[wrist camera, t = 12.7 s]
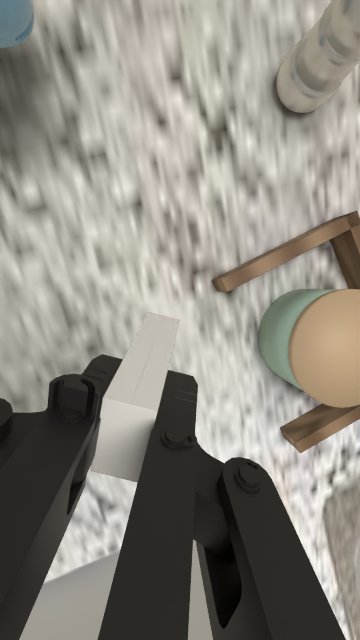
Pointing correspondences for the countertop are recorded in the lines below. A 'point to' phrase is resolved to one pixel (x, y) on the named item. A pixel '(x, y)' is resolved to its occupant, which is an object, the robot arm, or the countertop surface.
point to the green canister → (315, 343)
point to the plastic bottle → (321, 58)
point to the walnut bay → (356, 263)
